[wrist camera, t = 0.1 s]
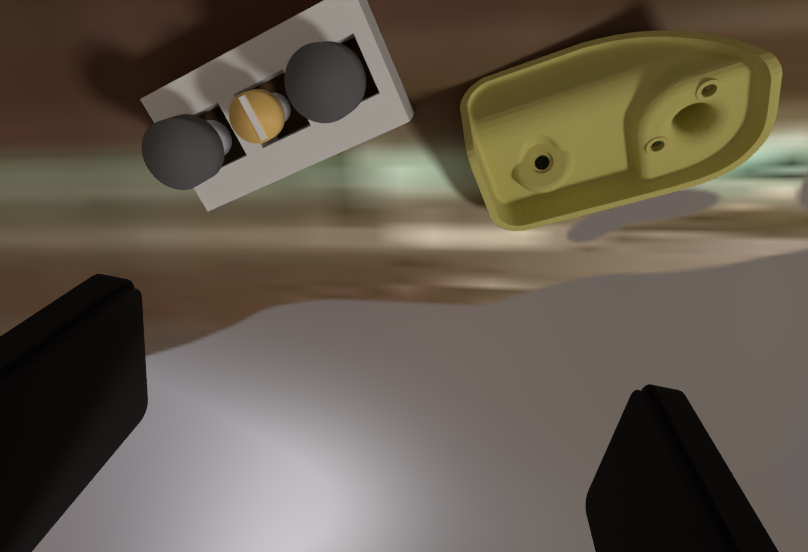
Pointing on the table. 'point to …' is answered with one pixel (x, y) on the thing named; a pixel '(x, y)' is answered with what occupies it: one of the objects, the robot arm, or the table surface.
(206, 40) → the table surface
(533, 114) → the plastic component
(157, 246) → the table surface
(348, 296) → the table surface
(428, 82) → the table surface
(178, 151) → the knob
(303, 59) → the knob
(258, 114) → the pot knob
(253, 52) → the mount
